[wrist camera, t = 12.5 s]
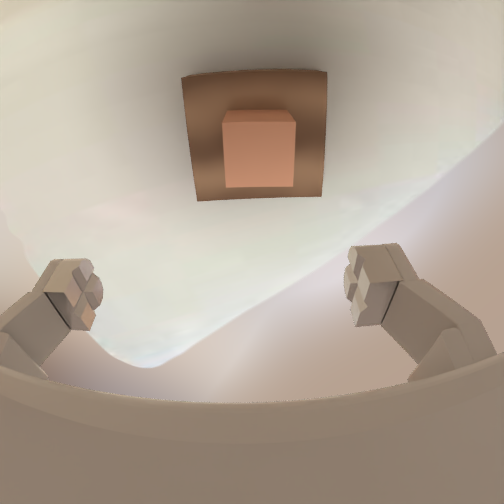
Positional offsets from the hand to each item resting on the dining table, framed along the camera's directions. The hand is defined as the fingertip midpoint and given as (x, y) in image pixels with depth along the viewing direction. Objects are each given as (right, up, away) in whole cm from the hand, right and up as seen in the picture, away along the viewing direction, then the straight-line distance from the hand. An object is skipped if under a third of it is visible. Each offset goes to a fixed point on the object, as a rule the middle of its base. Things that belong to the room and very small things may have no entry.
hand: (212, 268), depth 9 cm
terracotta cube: (+2, +10, +15) cm, 18 cm away
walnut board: (+2, +13, +18) cm, 22 cm away
